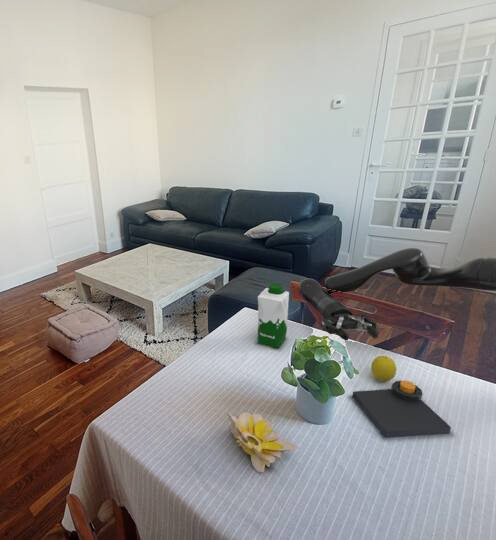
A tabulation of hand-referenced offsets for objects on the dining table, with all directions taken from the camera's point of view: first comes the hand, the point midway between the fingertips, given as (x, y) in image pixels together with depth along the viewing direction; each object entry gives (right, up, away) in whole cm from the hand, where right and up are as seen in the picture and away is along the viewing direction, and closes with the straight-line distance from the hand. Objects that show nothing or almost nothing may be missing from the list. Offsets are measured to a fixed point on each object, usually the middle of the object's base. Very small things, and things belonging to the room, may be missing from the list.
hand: (362, 336), depth 100 cm
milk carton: (-21, -5, +16) cm, 27 cm away
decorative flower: (-40, -22, -23) cm, 51 cm away
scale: (-4, -15, -18) cm, 24 cm away
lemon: (+1, -11, -7) cm, 13 cm away
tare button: (+1, -10, -15) cm, 18 cm away
